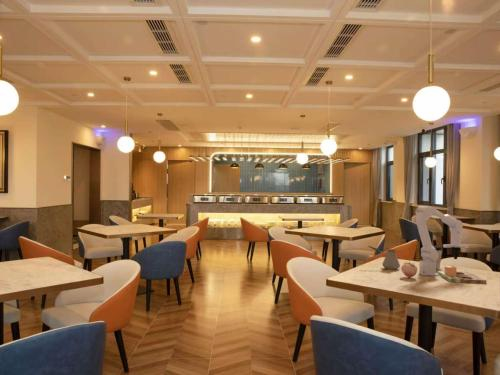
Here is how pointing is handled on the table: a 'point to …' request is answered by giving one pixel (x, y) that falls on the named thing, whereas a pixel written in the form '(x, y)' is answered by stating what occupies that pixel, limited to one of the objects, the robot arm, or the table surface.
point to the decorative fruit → (409, 269)
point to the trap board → (463, 277)
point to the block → (450, 270)
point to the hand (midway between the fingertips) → (455, 258)
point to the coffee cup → (439, 250)
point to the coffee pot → (389, 259)
